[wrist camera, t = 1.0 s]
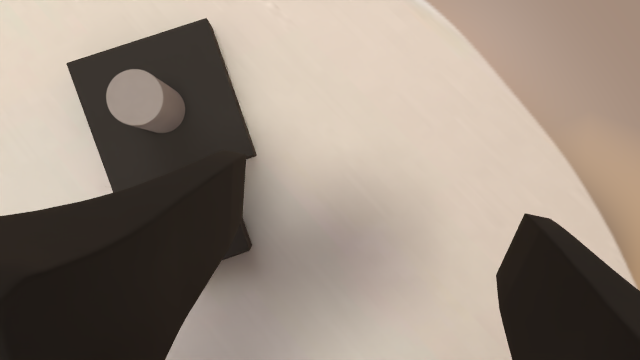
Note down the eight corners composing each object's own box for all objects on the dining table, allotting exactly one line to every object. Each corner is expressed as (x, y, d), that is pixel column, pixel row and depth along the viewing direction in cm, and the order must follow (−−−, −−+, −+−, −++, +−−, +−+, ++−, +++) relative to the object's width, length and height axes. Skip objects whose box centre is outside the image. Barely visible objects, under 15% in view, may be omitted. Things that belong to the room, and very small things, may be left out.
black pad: (155, 279, 25) (117, 309, 20) (79, 69, 25) (19, 40, 20) (284, 234, 26) (281, 252, 20) (211, 26, 25) (188, -14, 20)
